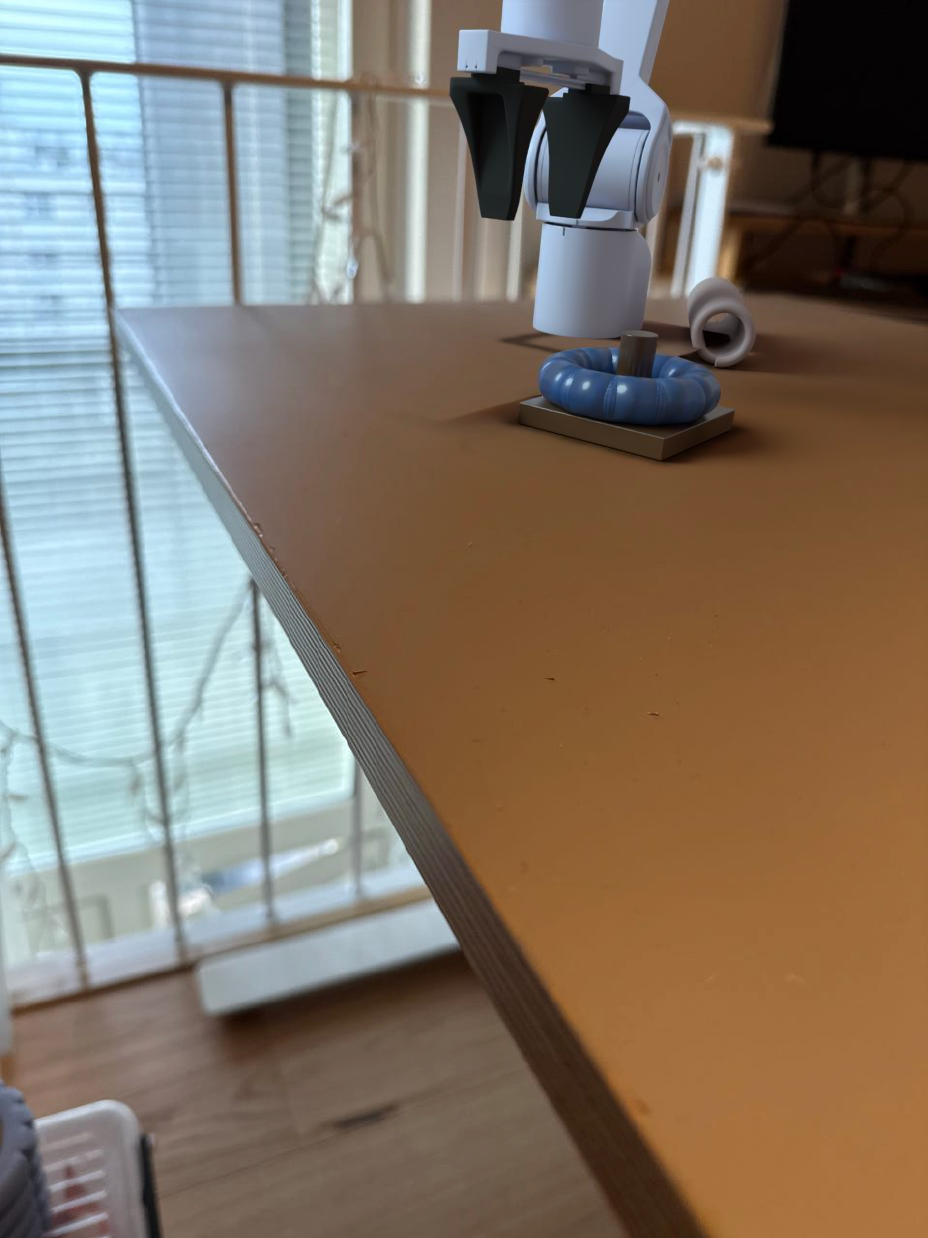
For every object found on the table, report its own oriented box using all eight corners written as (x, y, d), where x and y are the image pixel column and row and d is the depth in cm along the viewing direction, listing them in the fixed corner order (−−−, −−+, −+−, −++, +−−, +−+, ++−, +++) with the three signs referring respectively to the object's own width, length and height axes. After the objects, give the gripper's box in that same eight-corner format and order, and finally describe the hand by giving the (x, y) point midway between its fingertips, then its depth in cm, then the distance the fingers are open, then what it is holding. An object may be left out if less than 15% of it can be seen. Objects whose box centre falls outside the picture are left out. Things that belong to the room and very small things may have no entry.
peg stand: (597, 398, 59) (609, 313, 56) (731, 429, 54) (749, 338, 52) (517, 423, 52) (526, 327, 50) (661, 461, 48) (678, 358, 45)
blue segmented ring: (587, 376, 59) (592, 337, 58) (739, 407, 54) (748, 365, 53) (503, 402, 51) (507, 358, 50) (671, 441, 46) (679, 394, 45)
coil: (765, 310, 68) (746, 281, 83) (701, 297, 68) (695, 271, 84) (745, 374, 70) (730, 334, 86) (684, 361, 70) (680, 323, 86)
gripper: (565, -22, 59) (542, 210, 65) (418, -70, 49) (408, 212, 55) (665, -26, 55) (631, 221, 62) (530, -79, 45) (505, 225, 51)
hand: (532, 218), depth 58 cm, fingers open, 7 cm apart
